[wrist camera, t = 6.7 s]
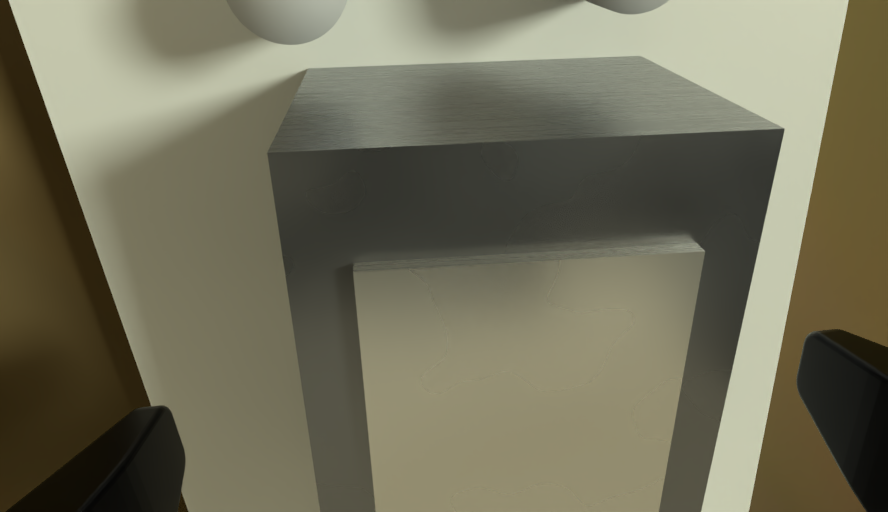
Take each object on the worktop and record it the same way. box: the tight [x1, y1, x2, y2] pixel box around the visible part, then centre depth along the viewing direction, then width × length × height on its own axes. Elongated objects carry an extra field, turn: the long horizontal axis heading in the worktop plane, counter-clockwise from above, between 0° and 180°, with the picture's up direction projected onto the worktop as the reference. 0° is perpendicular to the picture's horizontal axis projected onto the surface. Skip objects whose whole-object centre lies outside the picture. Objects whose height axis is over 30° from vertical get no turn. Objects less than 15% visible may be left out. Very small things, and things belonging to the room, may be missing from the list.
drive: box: [267, 56, 785, 512], centre depth 10 cm, size 5×8×4 cm, turn 1°
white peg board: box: [9, 0, 849, 512], centre depth 11 cm, size 12×16×3 cm
